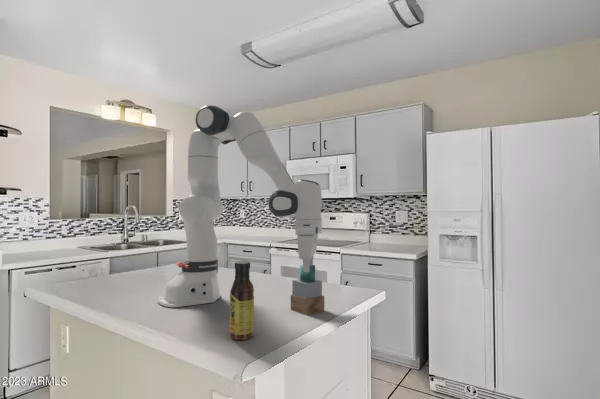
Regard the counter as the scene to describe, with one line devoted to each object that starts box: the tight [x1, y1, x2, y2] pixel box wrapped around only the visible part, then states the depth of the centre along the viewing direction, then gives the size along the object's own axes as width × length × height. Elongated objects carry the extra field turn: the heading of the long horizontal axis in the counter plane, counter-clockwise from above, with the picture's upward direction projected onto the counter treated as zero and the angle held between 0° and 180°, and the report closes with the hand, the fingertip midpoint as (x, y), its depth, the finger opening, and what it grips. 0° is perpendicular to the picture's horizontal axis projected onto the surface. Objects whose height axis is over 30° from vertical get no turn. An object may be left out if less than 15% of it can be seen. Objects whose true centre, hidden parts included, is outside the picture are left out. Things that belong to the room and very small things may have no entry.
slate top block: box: [291, 278, 323, 299], centre depth 119 cm, size 7×7×5 cm
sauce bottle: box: [229, 260, 255, 341], centre depth 94 cm, size 7×6×20 cm
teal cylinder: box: [299, 264, 316, 282], centre depth 119 cm, size 5×5×5 cm
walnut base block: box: [290, 294, 325, 316], centre depth 119 cm, size 8×8×5 cm
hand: (308, 269), depth 119 cm, fingers open, 8 cm apart
